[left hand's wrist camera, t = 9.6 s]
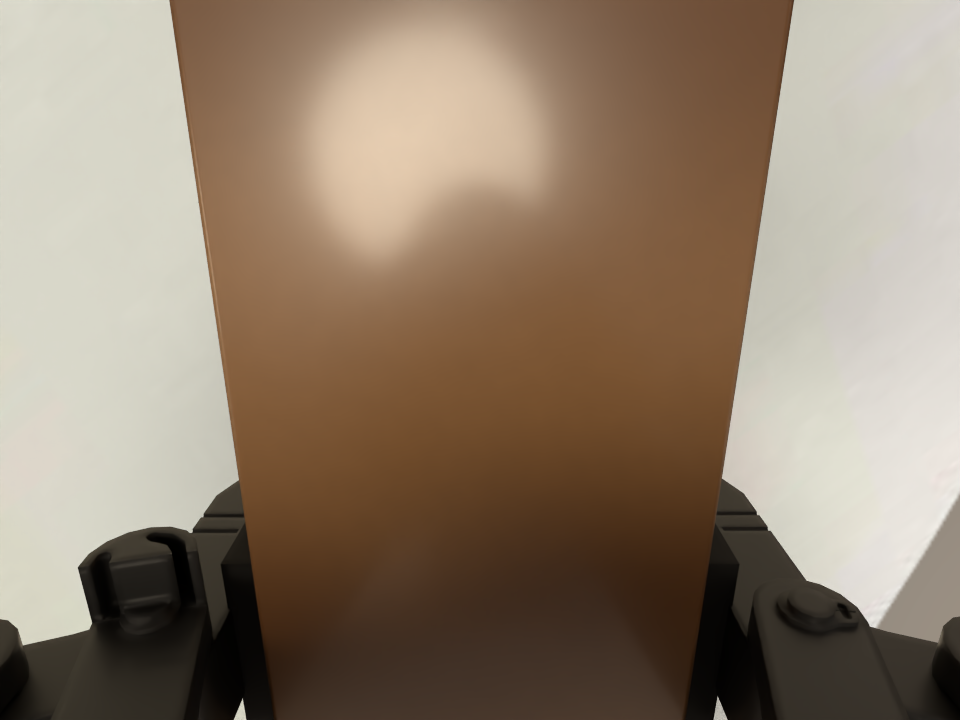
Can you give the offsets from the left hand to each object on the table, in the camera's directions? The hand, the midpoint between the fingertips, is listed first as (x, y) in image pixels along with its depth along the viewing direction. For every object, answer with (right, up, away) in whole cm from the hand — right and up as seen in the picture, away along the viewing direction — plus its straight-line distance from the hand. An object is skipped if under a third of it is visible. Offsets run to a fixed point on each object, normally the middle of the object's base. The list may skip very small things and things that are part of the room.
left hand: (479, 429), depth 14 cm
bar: (0, +7, -2) cm, 7 cm away
